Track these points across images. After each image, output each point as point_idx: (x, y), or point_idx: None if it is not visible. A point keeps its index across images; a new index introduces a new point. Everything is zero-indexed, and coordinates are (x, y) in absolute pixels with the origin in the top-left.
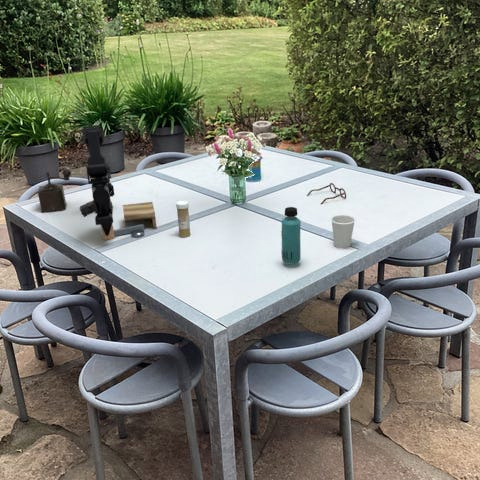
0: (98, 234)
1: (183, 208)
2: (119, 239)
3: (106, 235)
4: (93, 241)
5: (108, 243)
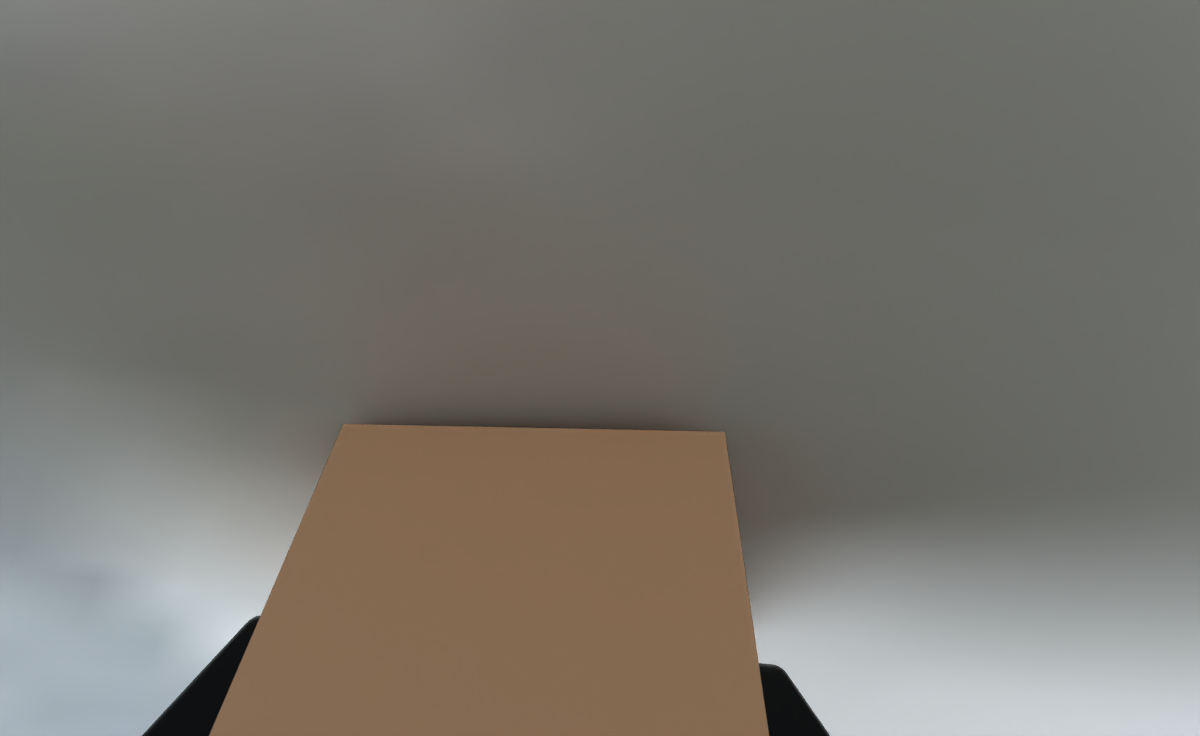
0: (1042, 318)
1: None
2: None
3: None
4: (409, 27)
5: (34, 478)
